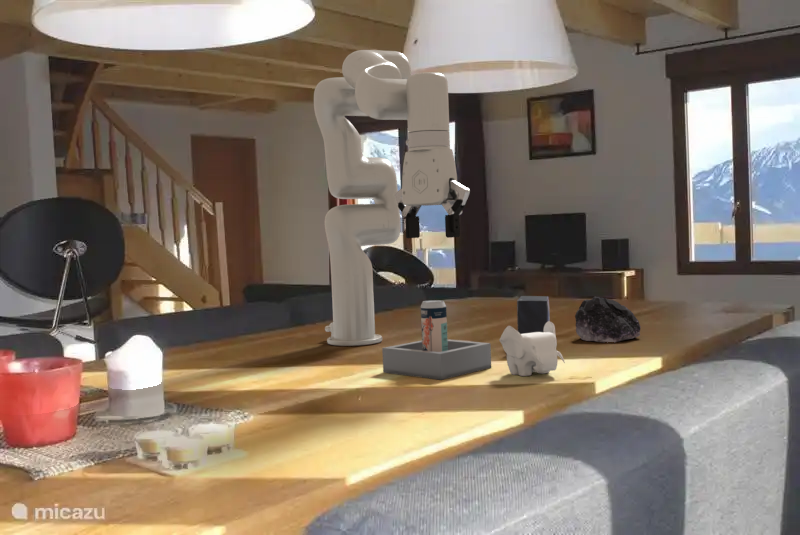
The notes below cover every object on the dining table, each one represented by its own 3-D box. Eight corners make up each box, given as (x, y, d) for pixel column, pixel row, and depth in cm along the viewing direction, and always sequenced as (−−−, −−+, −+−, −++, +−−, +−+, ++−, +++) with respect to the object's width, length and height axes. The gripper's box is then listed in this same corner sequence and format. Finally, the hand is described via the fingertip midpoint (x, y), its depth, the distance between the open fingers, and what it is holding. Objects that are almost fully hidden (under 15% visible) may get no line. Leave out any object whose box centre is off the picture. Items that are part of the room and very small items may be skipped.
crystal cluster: (651, 343, 185) (652, 297, 186) (595, 343, 181) (595, 295, 182) (619, 341, 198) (619, 297, 198) (565, 340, 194) (566, 296, 195)
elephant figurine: (532, 383, 143) (530, 329, 142) (491, 373, 153) (490, 323, 153) (578, 376, 147) (576, 324, 147) (535, 367, 158) (534, 318, 157)
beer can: (421, 365, 161) (419, 300, 160) (447, 363, 161) (444, 299, 161) (423, 369, 156) (421, 302, 156) (449, 367, 156) (447, 301, 156)
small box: (549, 351, 176) (547, 299, 175) (517, 351, 177) (515, 300, 176) (551, 343, 186) (549, 294, 185) (520, 343, 187) (518, 295, 187)
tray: (383, 372, 158) (382, 347, 158) (433, 361, 168) (433, 338, 168) (441, 379, 148) (440, 353, 148) (491, 367, 159) (490, 343, 158)
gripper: (380, 146, 160) (384, 239, 161) (452, 137, 148) (455, 238, 149) (408, 147, 165) (411, 237, 166) (479, 139, 153) (482, 236, 154)
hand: (432, 237), depth 157 cm, fingers open, 9 cm apart
